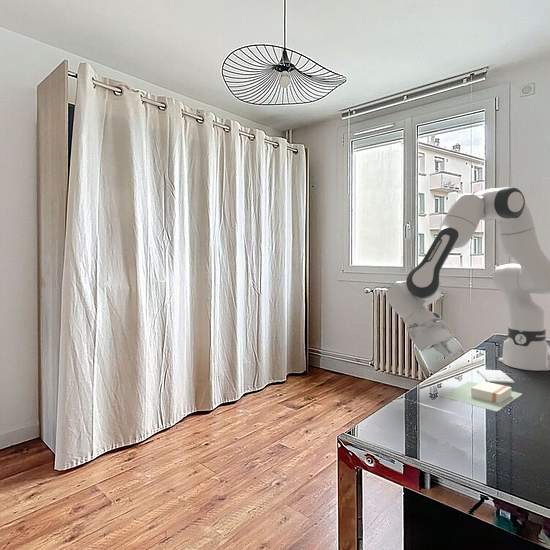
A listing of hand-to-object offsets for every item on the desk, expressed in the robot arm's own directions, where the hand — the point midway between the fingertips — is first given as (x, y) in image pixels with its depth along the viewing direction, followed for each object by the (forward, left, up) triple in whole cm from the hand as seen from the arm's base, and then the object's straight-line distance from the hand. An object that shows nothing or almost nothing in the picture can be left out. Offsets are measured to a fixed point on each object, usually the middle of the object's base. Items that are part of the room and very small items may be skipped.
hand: (449, 355), depth 128 cm
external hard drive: (-20, +7, -11) cm, 24 cm away
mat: (+1, +11, -10) cm, 15 cm away
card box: (0, +9, -9) cm, 12 cm away
